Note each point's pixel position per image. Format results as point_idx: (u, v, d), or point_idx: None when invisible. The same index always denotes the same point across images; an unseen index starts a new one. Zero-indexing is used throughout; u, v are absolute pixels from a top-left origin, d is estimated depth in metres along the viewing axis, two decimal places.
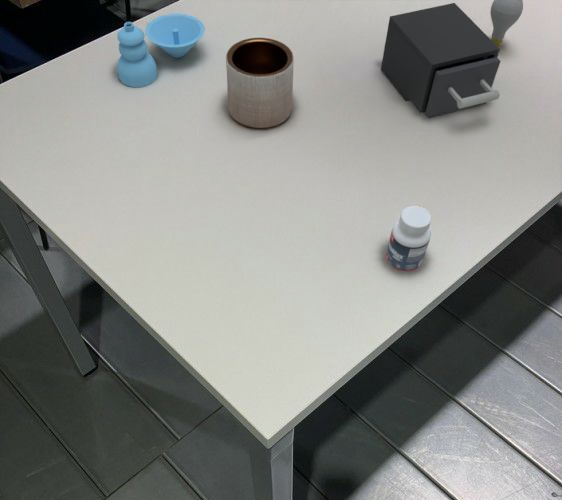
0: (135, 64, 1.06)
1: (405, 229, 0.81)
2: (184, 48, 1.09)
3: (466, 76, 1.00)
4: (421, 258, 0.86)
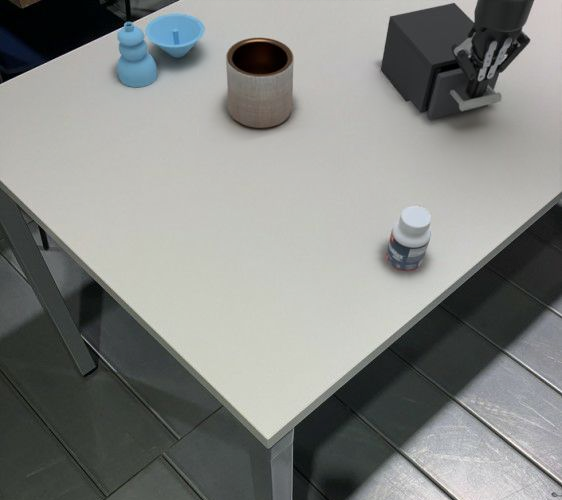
0: (135, 64, 1.06)
1: (405, 229, 0.81)
2: (184, 48, 1.09)
3: (468, 78, 1.00)
4: (421, 258, 0.86)
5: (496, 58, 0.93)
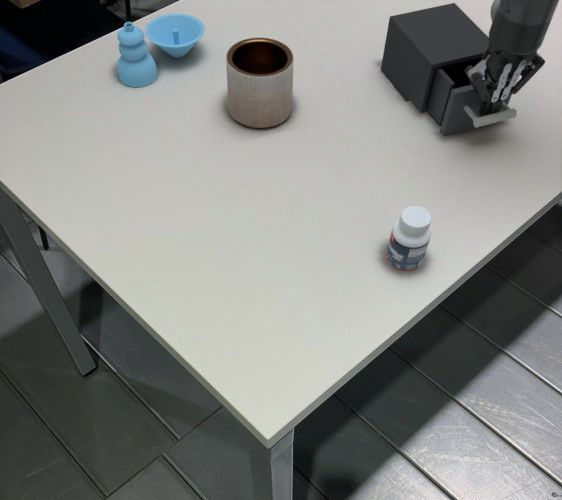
0: (135, 64, 1.06)
1: (405, 229, 0.81)
2: (184, 48, 1.09)
3: None
4: (421, 258, 0.86)
5: (511, 80, 0.92)
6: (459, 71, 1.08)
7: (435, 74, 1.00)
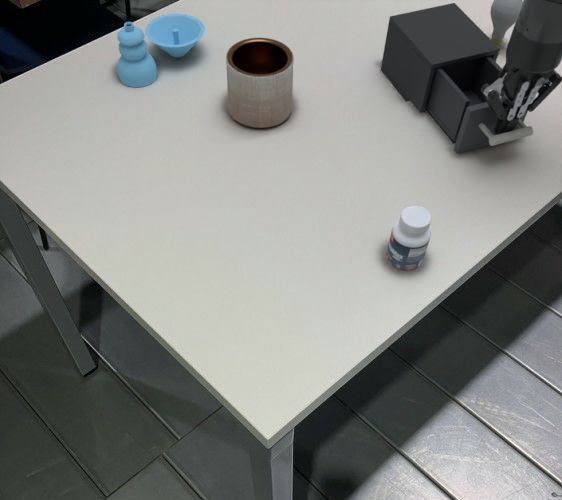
0: (135, 64, 1.06)
1: (405, 229, 0.81)
2: (184, 48, 1.09)
3: None
4: (421, 258, 0.86)
5: (528, 98, 0.90)
6: (473, 86, 1.06)
7: (449, 90, 0.97)
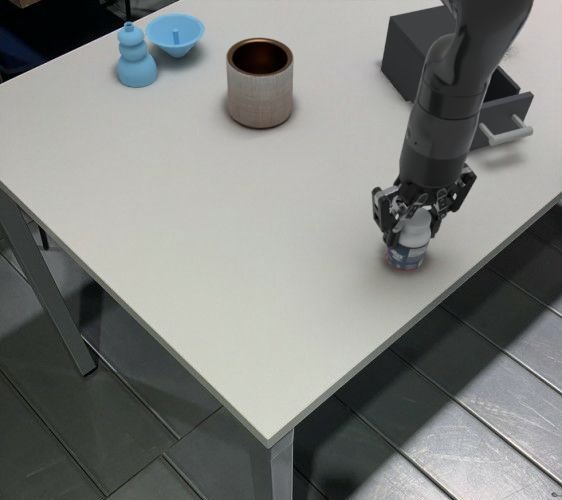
0: (135, 64, 1.06)
1: (405, 229, 0.81)
2: (184, 48, 1.09)
3: (498, 111, 0.95)
4: (421, 258, 0.86)
5: (438, 206, 0.79)
6: None
7: None
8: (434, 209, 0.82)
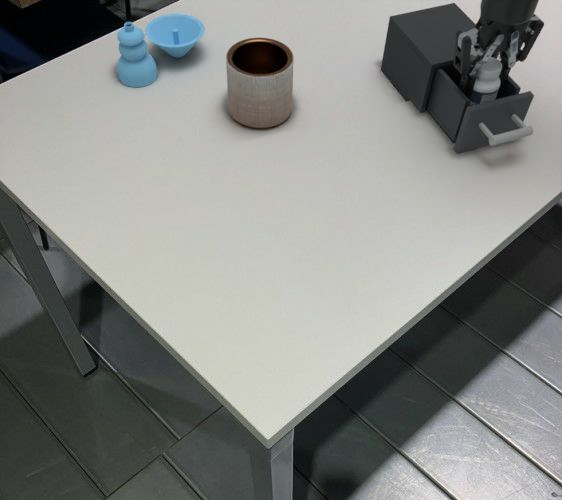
0: (135, 64, 1.06)
1: (479, 75, 0.95)
2: (184, 48, 1.09)
3: (498, 111, 0.95)
4: None
5: (510, 51, 0.92)
6: None
7: (449, 90, 0.97)
8: (504, 59, 0.95)
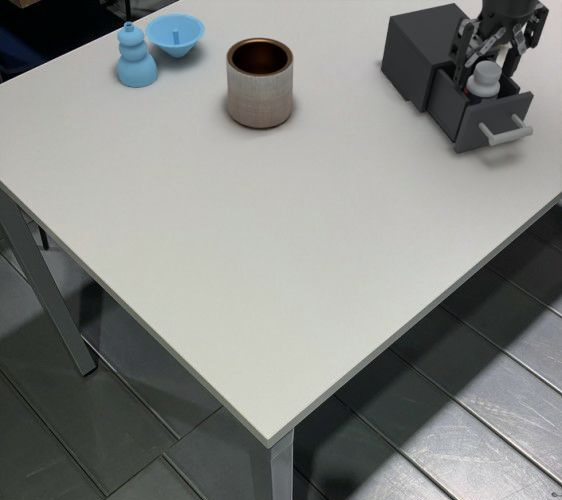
0: (135, 64, 1.06)
1: (479, 79, 0.95)
2: (184, 48, 1.09)
3: (498, 111, 0.95)
4: None
5: (516, 42, 0.91)
6: None
7: (449, 90, 0.97)
8: (515, 46, 0.94)
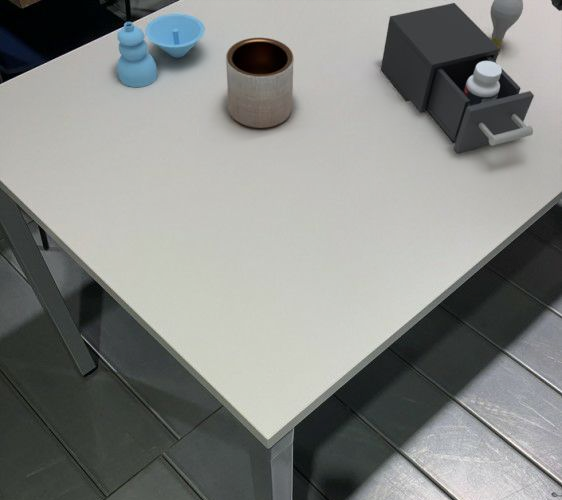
0: (135, 64, 1.06)
1: (479, 79, 0.95)
2: (184, 48, 1.09)
3: (498, 111, 0.95)
4: None
5: None
6: None
7: (449, 90, 0.97)
8: None
